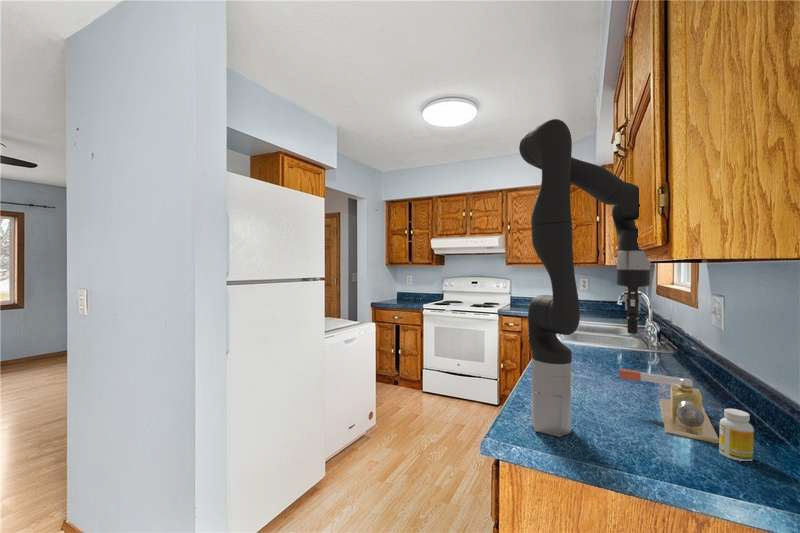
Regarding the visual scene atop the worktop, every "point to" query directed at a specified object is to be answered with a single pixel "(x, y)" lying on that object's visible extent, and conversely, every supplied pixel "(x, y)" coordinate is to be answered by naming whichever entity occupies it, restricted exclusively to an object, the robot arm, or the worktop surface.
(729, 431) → the supplement bottle
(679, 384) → the valve lever
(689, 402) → the valve rig
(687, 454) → the worktop surface
